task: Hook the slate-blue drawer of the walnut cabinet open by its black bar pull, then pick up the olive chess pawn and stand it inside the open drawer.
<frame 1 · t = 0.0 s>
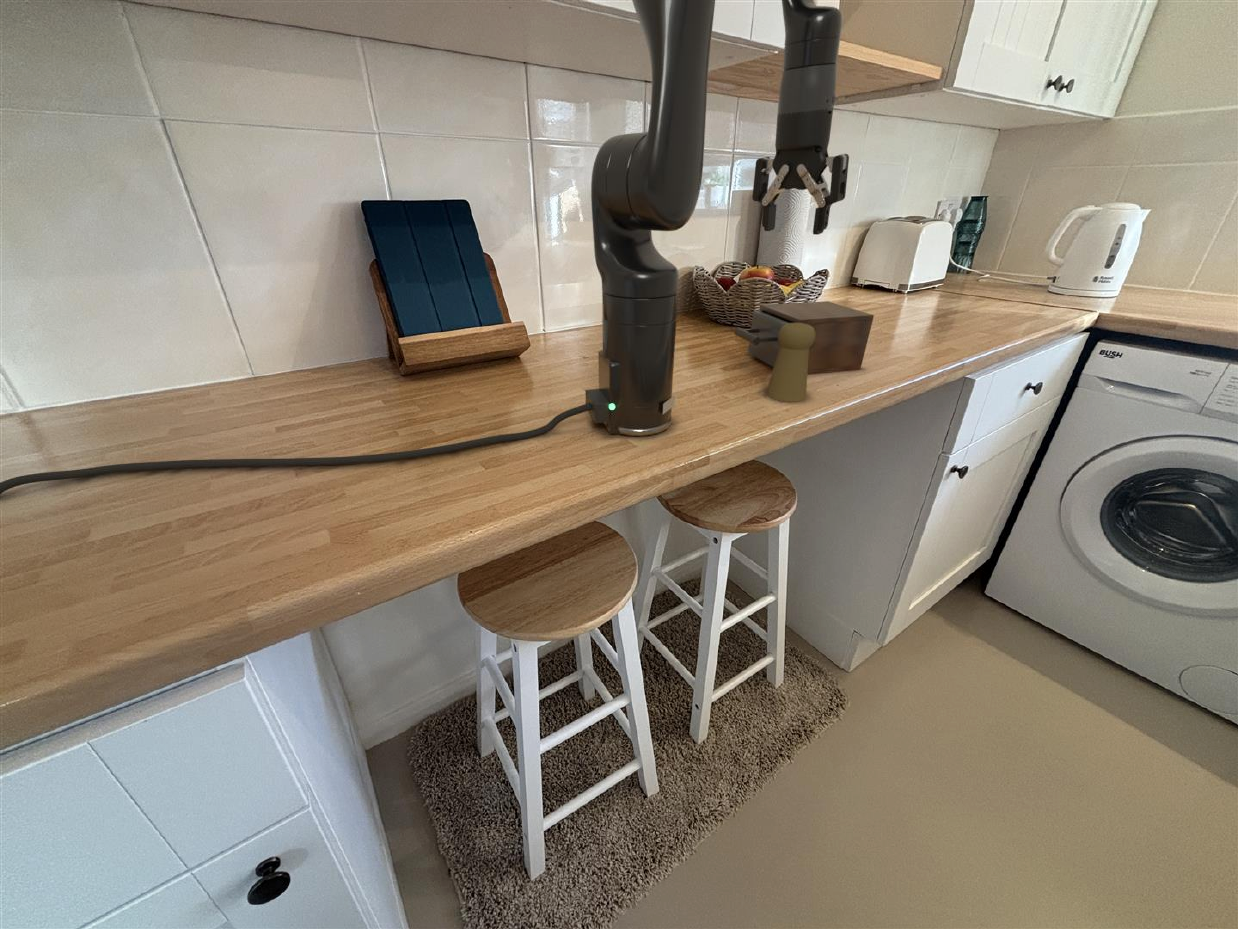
hand: (793, 231, 79), 22 cm above the countertop, tool pointing down, fingers open, 8 cm apart
drawer: (787, 338, 89), point 5 cm above the countertop, slide at 0.5 cm
olive chess pawn: (785, 395, 78), on the countertop
cabinet: (804, 362, 92), on the countertop
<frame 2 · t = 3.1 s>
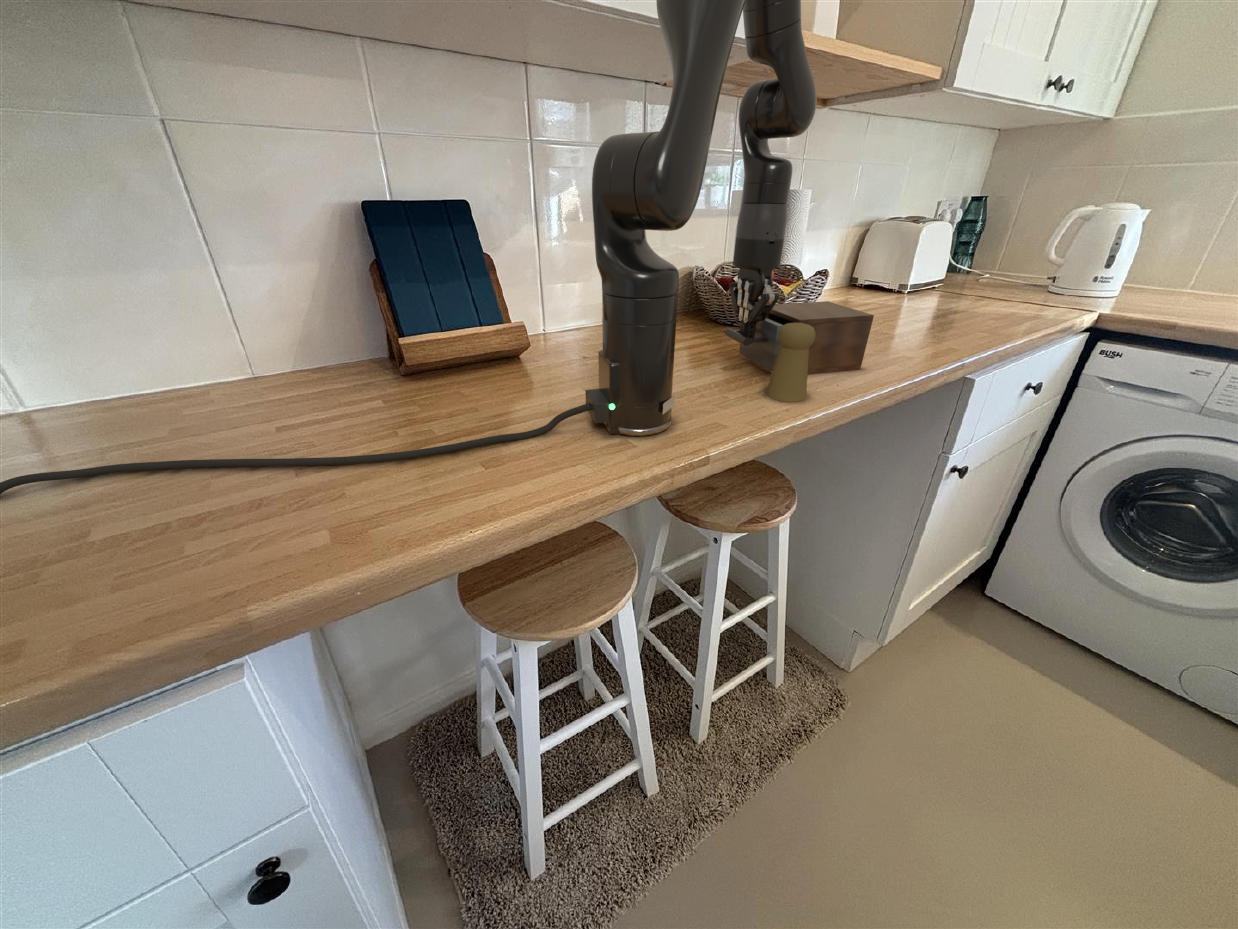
hand: (745, 342, 87), 5 cm above the countertop, tool pointing down, fingers closed
drawer: (778, 338, 88), point 5 cm above the countertop, slide at 2.4 cm
everything else where it was.
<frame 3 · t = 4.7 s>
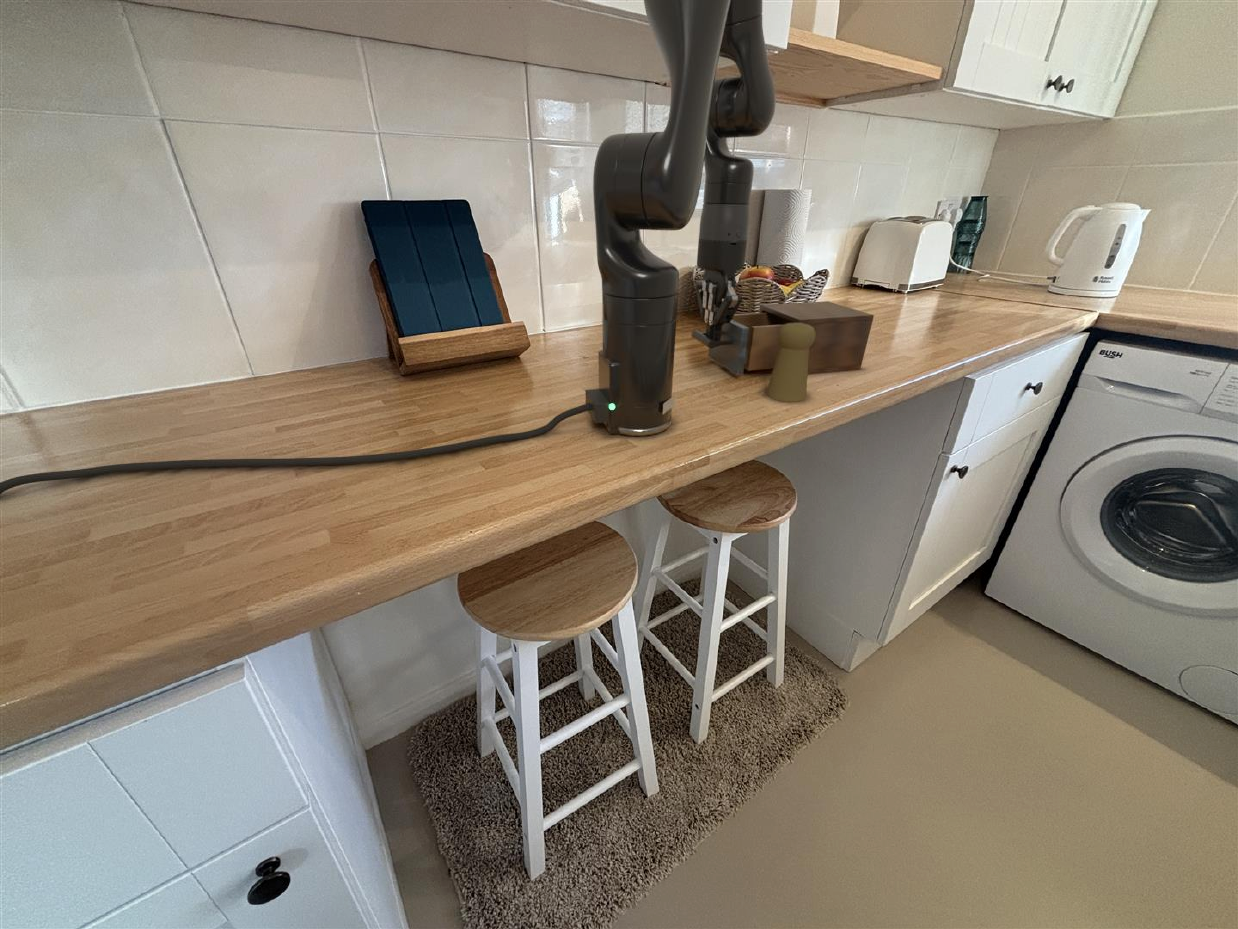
hand: (712, 345, 85), 4 cm above the countertop, tool pointing down, fingers closed
drawer: (746, 341, 87), point 5 cm above the countertop, slide at 8.8 cm
everything else where it was.
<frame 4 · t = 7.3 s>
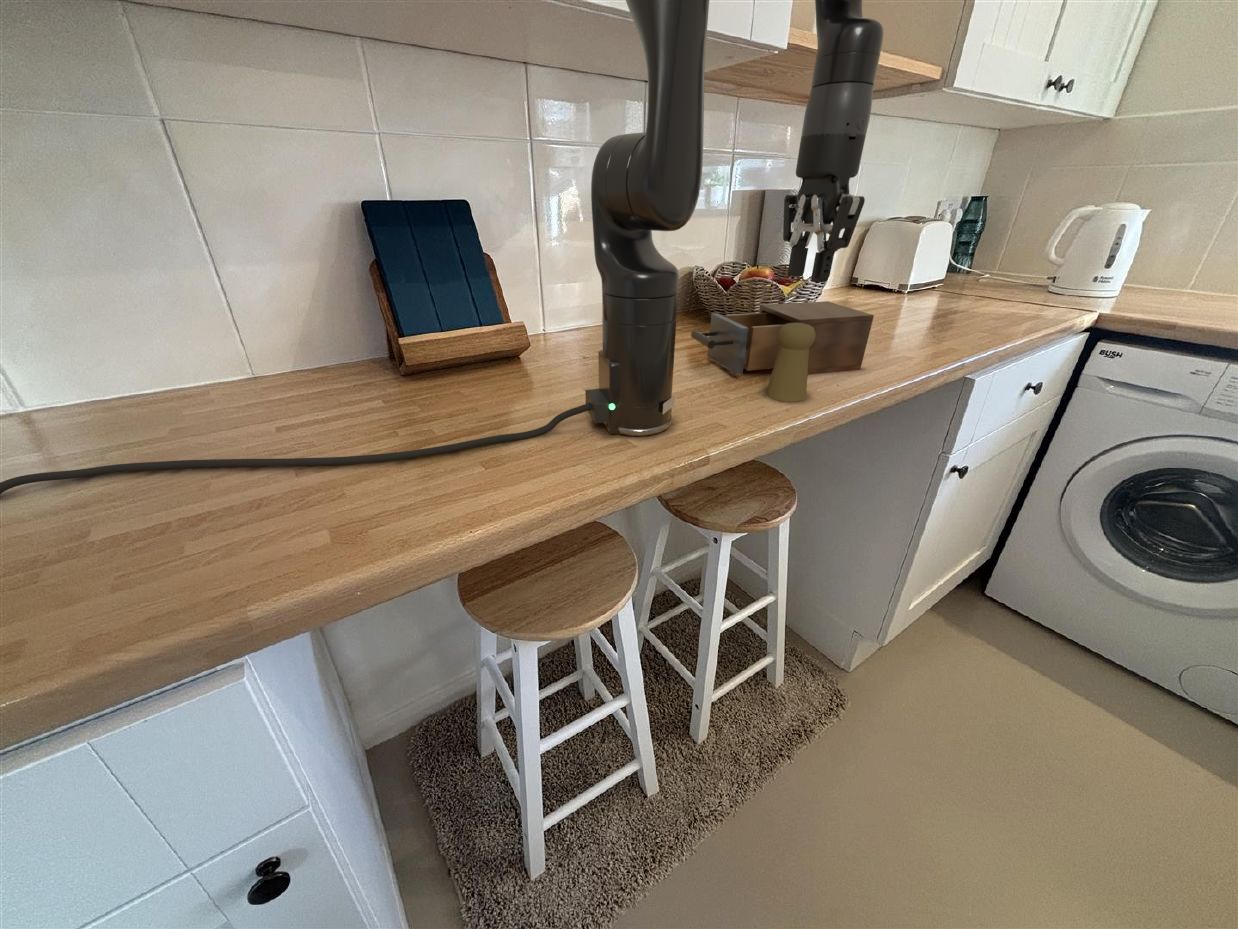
hand: (807, 278, 69), 17 cm above the countertop, tool pointing down, fingers open, 5 cm apart
nothing on the countertop moved.
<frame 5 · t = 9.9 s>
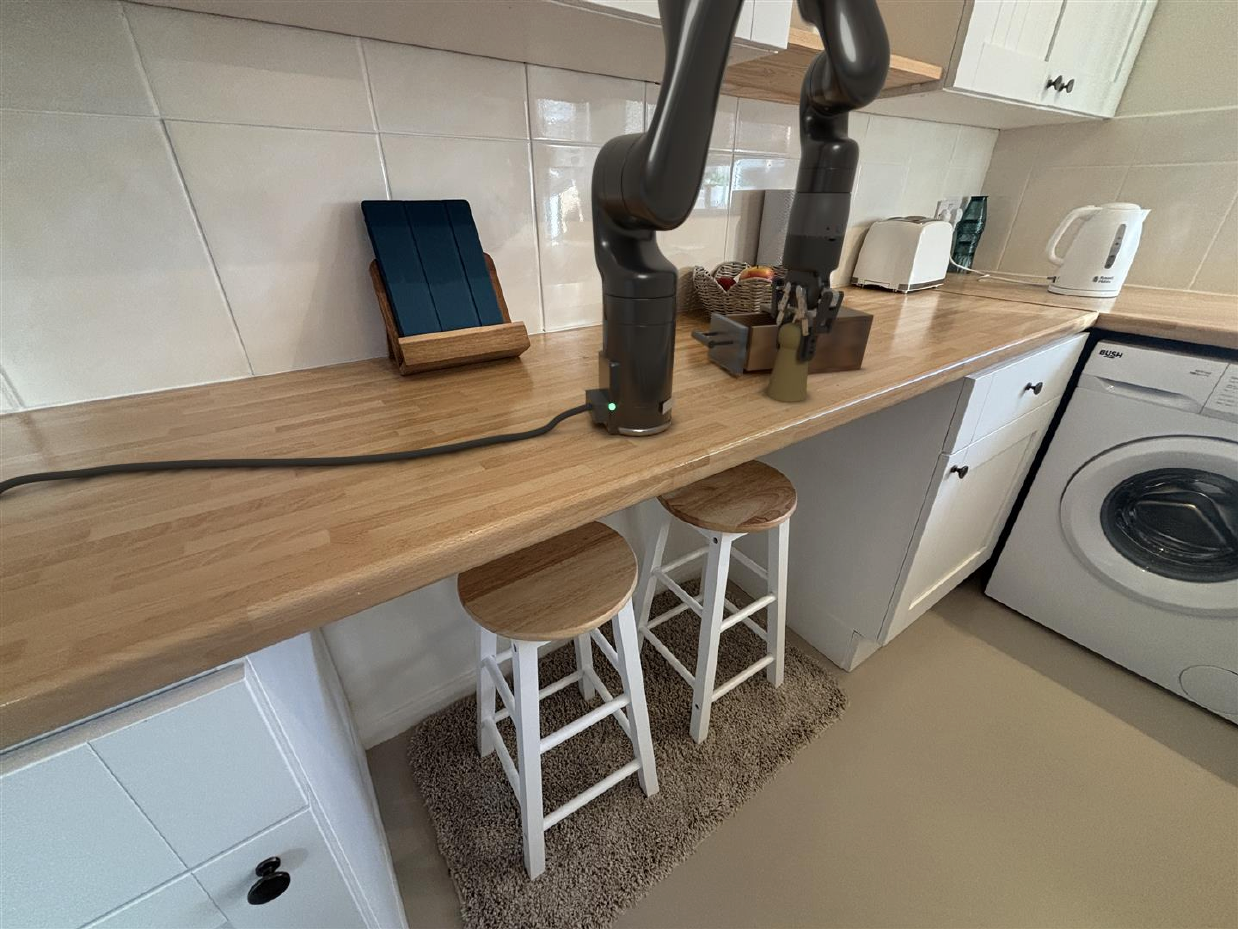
hand: (793, 354, 74), 6 cm above the countertop, tool pointing down, fingers closed on olive chess pawn, 5 cm apart
olive chess pawn: (785, 395, 78), on the countertop, touching gripper
everything else where it was.
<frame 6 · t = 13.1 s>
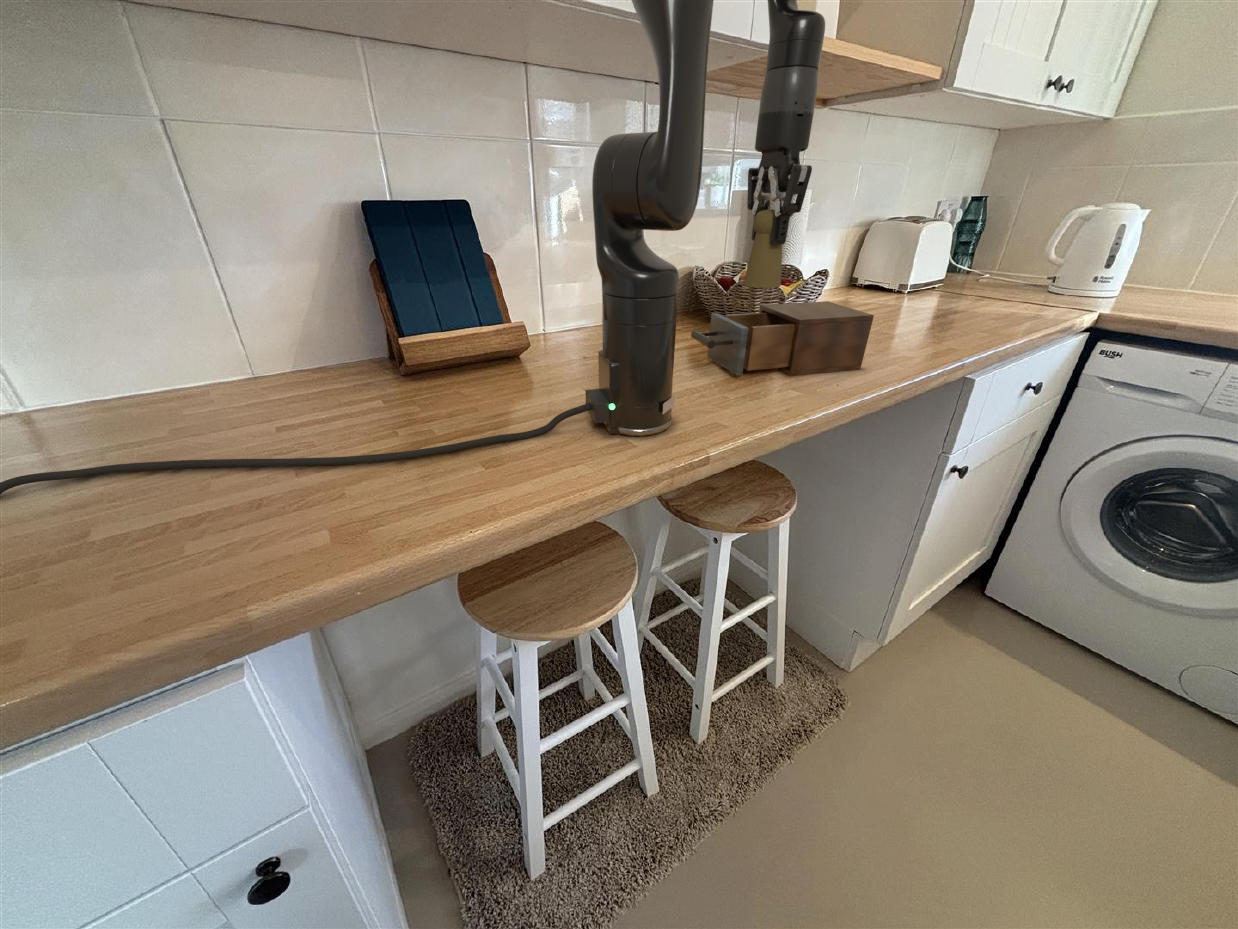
hand: (767, 241, 78), 21 cm above the countertop, tool pointing down, fingers closed on olive chess pawn, 5 cm apart
olive chess pawn: (761, 285, 81), point 14 cm above the countertop, touching gripper
everything else where it was.
when the fingers open (8 cm above the countertop, at t = 16.5 s): olive chess pawn stays where it is, resting on drawer.
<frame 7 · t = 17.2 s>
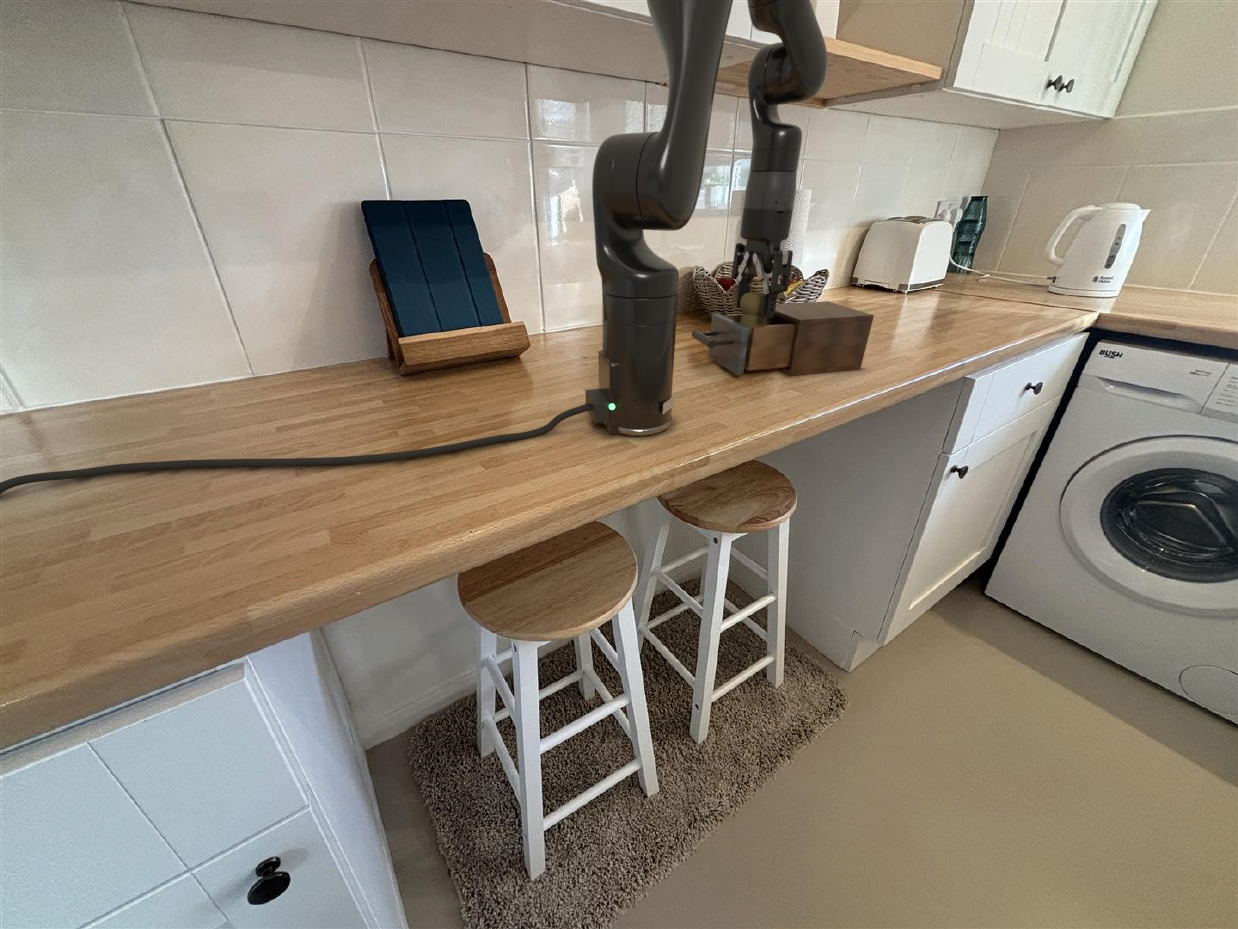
hand: (753, 312, 85), 10 cm above the countertop, tool pointing down, fingers open, 8 cm apart
drawer: (746, 341, 87), point 5 cm above the countertop, slide at 8.8 cm, touching olive chess pawn
olive chess pawn: (748, 357, 89), point 2 cm above the countertop, touching drawer
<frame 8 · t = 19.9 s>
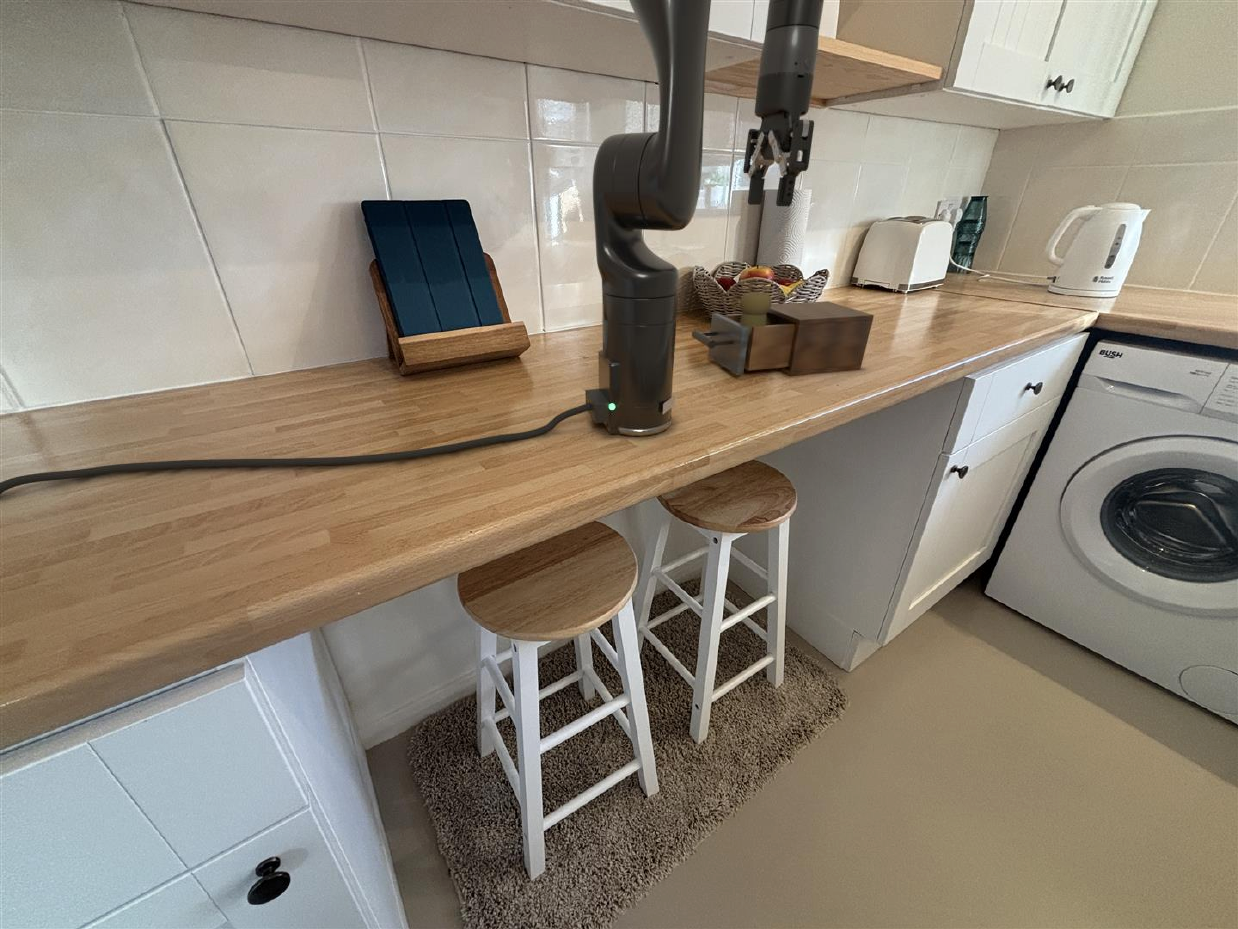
hand: (768, 205, 77), 26 cm above the countertop, tool pointing down, fingers open, 8 cm apart
nothing on the countertop moved.
at the end: drawer slide at 8.8 cm; olive chess pawn inside the target area in the drawer (0.3 cm from its centre), point 1.8 cm above the cabinet's base; olive chess pawn tilted 0° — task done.
